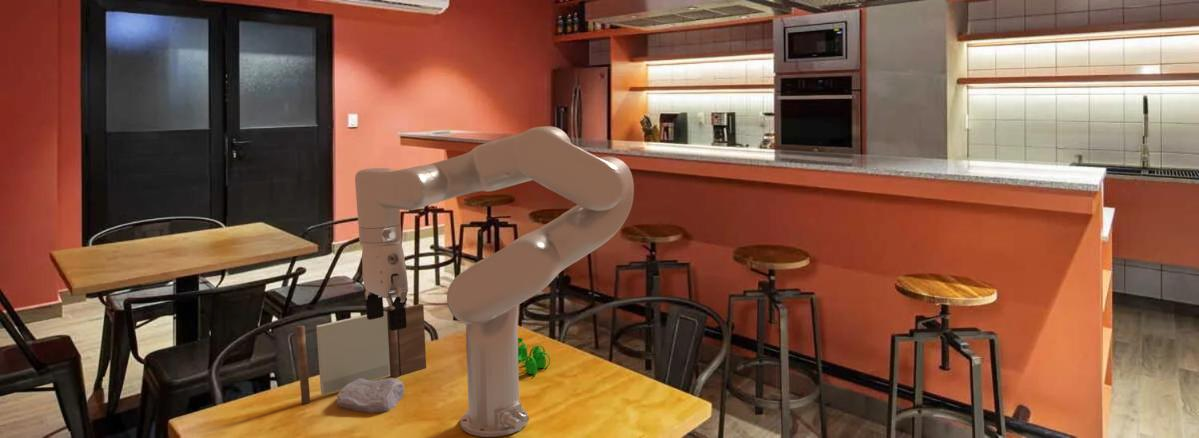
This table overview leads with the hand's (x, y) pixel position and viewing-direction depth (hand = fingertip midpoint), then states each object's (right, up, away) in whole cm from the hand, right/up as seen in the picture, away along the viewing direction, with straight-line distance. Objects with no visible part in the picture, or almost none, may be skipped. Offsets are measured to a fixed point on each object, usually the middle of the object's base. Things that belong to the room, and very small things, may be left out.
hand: (386, 323), depth 131 cm
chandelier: (+22, -15, +28) cm, 39 cm away
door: (-12, -16, +17) cm, 26 cm away
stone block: (-6, -18, +9) cm, 21 cm away
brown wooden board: (-10, -16, +18) cm, 26 cm away
